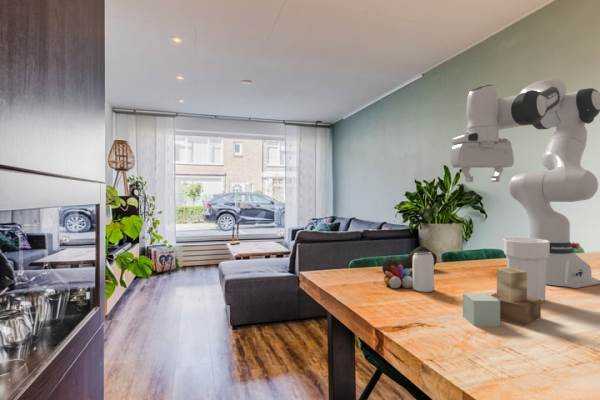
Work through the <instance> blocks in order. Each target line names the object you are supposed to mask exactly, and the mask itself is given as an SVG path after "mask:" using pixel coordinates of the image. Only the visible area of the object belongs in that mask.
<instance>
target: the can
mask: <svg viewBox="0 0 600 400" xmlns="http://www.w3.org/2000/svg"><path fill="white" fill-rule="evenodd" d="M434 267H435V265H434V258H433V256H432V253H430V252H414V255H413V268H412V279H413V286H412V289H413V290H414V291H416V292H419V293H431V292H433V291H434V290H435V273H434V272H435V270H434V269H435V268H434Z"/></svg>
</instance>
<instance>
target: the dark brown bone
mask: <svg viewBox="0 0 600 400" xmlns="http://www.w3.org/2000/svg"><path fill="white" fill-rule="evenodd" d="M414 252H430V253H432V256H433V258H434V266H435V265H436V264H437V261H438V258H437V255H436V253H434V252H433V251H431V249H429V248H427V247H426V246H418V247H416V248H415V249H412V250H411V252H409V254H408V255H407V256H405V257H403V258H388V259H386V260H385V261H383V262H382V269H381V270H382V273H383V274H384V275H385V271H388V272H390V273H393V272H392V270H391V266H395V268H396V269H397V267H398V265H402V266H403V268H404V269H409V270H410V269H413V255H414Z"/></svg>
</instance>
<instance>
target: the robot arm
mask: <svg viewBox="0 0 600 400" xmlns="http://www.w3.org/2000/svg"><path fill="white" fill-rule="evenodd" d="M497 91H498V89H497V87H496V85H494V84H486V85H483V86H479V87H475V88H473V89H471V90H470V91H469V92H468V95H467V100H466V110H465V111H466V113H465V114H466V120H467V126H466V133H462V134H460V135H458V136H454V137H453V138H452V139H451V143H452V146H451V150H450V165H451V167H452V168H455V169H456V168H460V169H461V172H462V174H463V175H464V180H465V183H474V175H471V173H470V172H471V168H477V169H478V168H486V169H487V168H490V169H491V168H493V170H494V175H492V176H491V183H498V182H500V181H501V180H500V179H501V178H500V177H501V176H502V173H503V171H504V169H505V168H511V167H513V165H514V164H515V163H514V161H515V160H514V152H513V147H512V142H511V141H510V140H509V139H508V138H501V137H500V136H499V131H500V130H505V129H507V130H508V129H511V128H518V127H521V126H522V127H524V126H530V125H532V126H533V128H535V129H537V130H540V131H541V130H548V129H550V128H555V132H554V133H553V134H552V135H551V138H550V139H549V141H548V143H547V145H546V148H545V150H544V152H543V154H542V157H541V163H542V166H543V167H545V169H547V170H541V171H539V170H538V171H527V172H522V173H518V174H515V175H513V176H512V177H511V178H510V179H509V182H508V185H507V187H508V193H509V194H510V196H511V197H512V198H513V199H514V200H515V201H517V202H518V203H519V204H520V205H521V206H522V207H523V208H524V210H525V211H526V213H527V216H528V220H529V221H528V222H529V228H530V229H529V230H530V232H529V233H530V235H529V236H530V237H529V238H533V239H542V240H547V241H549V242H550V249H549V258H548V259H547V262H546V285H549V286H558V287H566V288H574V289H578V288H582V287H583V288H584V287H590V286H593V285H600V279H598V278H595V277H592V268H591V265H590V264H589V263H587V262H586V261H585V260H583V259H582V258H581V257H580V256H578V254H576V253H575V250H574V249H576V250H579V249H580V248H581V245H580V243H579V242H578V243H577V242H576V243H575V242H571V237H570V236H571V235H570V234H571V233H570V230H571V229H570V228H571V223H570V220H569V219H568V217H567V216H566V215H564V214H562V213H560V212H558V211H555V210H554V209H553V207H552V205H551V203H554V202H555V203H556V202H557V203H567V202H568V203H575V202H582V201H588V200H591V199H592V198H593V197H594V196H595V195H596V193H597V192H598V190H599V181H598V179H597V176H596V175H595V174H594V173H593V172H591V171H590V170H587V169H585V168H584V167H582V165H581V162H582V161H581V160H582V157H583V155H584V151H585V149H586V146H587V140H588V132H587V129H586V124H591V123H593V122H594V120H595V118H596V117H597V116H598V115H599V113H600V92H599V91H598V90H597V89H595V88H594V87H593V88H592V87H591V88H590V87H589V88H583V89H579V90H576V91H574V92H573V91H572V92H568V93H567V86H566V84H565V83H564V82H563V81H562V80H560V79H557V78H547V79H542V80H539V81H535V82H533V83H531V84H529V85H527V86H525V87H524V88H523V89H522V90H521V91H520V92H519V93H518V94H515V95H510V96H508V97H504V98H501V97H500V96H498V92H497Z"/></svg>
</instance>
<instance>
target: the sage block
mask: <svg viewBox="0 0 600 400" xmlns="http://www.w3.org/2000/svg"><path fill="white" fill-rule="evenodd" d="M491 295H492V294H489V293H485V292H481V293H479V292H478V293H477V292H476V293H473V292H472V293H471V292H468V293H467V292H463V293H462V317H463V318H464V319H465V318H466V319H465V320H466V321H468V322H469V323H470V324H471V325H472V326H474V327H475V326H476V327H500V326H501V319H500V301H499V300H498V299H496V298H494V297H493V296H491Z"/></svg>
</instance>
